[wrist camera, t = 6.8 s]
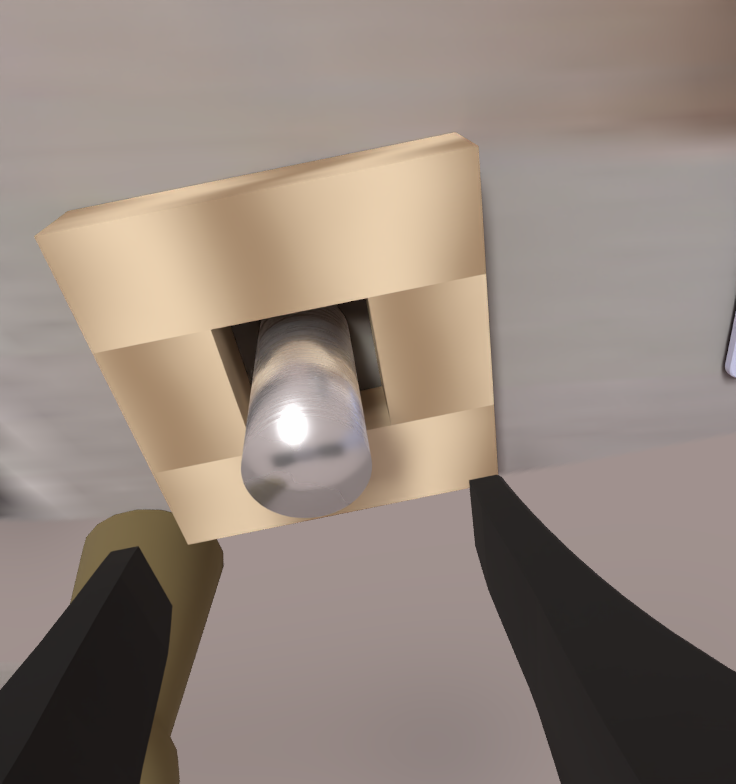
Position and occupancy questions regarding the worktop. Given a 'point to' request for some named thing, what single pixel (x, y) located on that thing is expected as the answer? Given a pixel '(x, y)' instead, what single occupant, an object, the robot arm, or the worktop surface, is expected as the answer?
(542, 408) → the worktop surface
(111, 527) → the cork
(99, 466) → the worktop surface
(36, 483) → the worktop surface
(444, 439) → the oak frame
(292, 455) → the long pin
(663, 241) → the worktop surface
